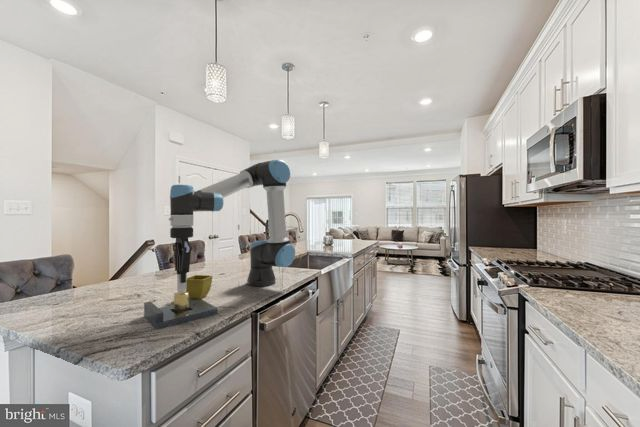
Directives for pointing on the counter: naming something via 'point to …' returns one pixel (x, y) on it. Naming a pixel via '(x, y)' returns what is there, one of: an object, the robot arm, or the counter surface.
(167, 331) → the counter surface
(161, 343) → the counter surface
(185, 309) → the bushing
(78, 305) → the counter surface
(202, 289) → the flower pot
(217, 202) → the robot arm
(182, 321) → the jig
